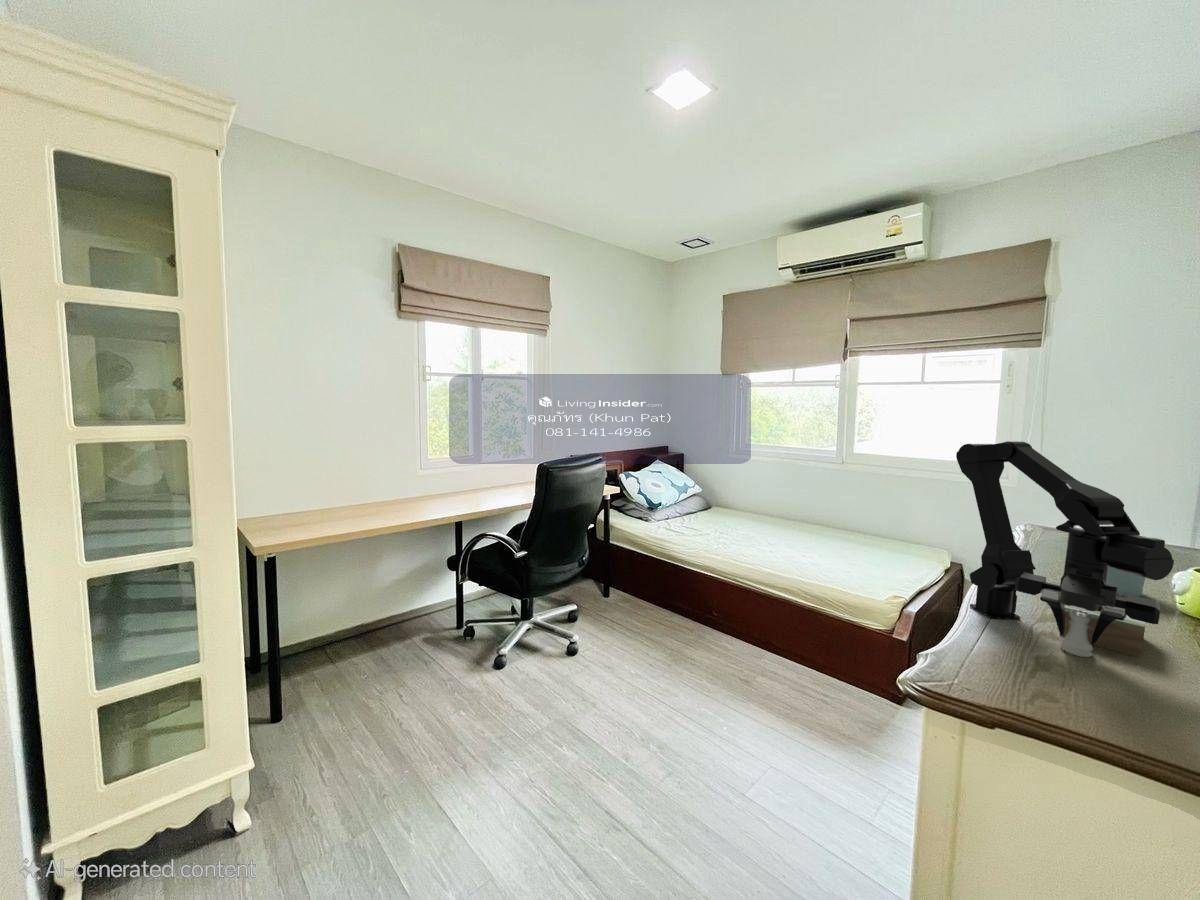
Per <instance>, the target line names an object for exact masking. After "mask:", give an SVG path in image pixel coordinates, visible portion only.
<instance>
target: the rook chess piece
mask: <svg viewBox="0 0 1200 900" xmlns="http://www.w3.org/2000/svg"><path fill="white" fill-rule="evenodd" d="M1068 615H1069V616H1070V618H1071V621H1069V623H1070V628H1069V631H1068V633H1067V635H1066V636H1064V638H1061V640H1060V642H1061V644H1059V646H1060V648H1061V649H1062V650H1063V651H1064V650H1065V651H1066V653H1067V652H1068V654H1069V655H1072V654H1073V655H1072V656H1075V655H1076V657H1079V656H1080V657H1081V658H1090V657H1092V656H1094V655H1093V654H1094V653H1093V652H1092V651H1094V650H1093V649H1094V648H1093V646H1092V644H1091V643H1090V642H1089V640H1088V628H1090V626H1089V625H1088V624H1089V622H1091V621H1092V618H1091V617H1090V614H1089V613H1088V612H1085V614H1084V613H1082V610H1079V612H1077V610H1076V609H1073V610H1071V612H1070V613H1069V614H1068ZM1065 651H1064V652H1065Z"/></svg>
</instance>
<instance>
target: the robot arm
mask: <svg viewBox="0 0 1200 900" xmlns="http://www.w3.org/2000/svg"><path fill="white" fill-rule="evenodd" d="M956 461H957V464H958V465H959V466H958V467H959V469H960V471H961V473H962V474H963V475H964V476H965V477H967V479H968V480H969V481H970V482H971V483H972V488H973V493H974V496H975V501H976V504H977V505H976V506H977V509H978V513H979V517H980V522H981V526H982V530H983V531H982V532H983V534H984V538H985V546H984V549H983V551H982V554H981V555H980V557H981V566H980V567H979V568H977V569H975V570H973V571H972V572H970V573H969V580H970V582H971V584H972V585H975V586H977V588H976V595H975V596H976V597H975V603H970V604H969V607H970V608H972V609H974V610H976V611H977V612H980V613H981V614H983V615H985V616H986V617H988V618H991V619H1002V620H1003V619H1004V620H1005V619H1007V620H1008V619H1010V620H1011V619H1012V620H1020V619H1021V616H1020V615H1019V614H1016V610H1017V603H1018V602H1017V600H1018V595H1017V592H1019V593H1023V594H1028V595H1031V596H1037V595H1039V594H1041V595H1040V597H1039V600H1040V602H1044V603H1046V604H1047V605H1048V606H1049V608H1050V610H1051V611H1052V614H1053V616H1054V620H1055V622H1056V625H1057V628H1058V631H1059V636H1062V635H1064V630H1065V605H1068V606H1076V607H1080V608H1084V609H1086V610H1089V611H1097V610H1098V607H1099V605H1102V606H1103V607H1102V610H1101V613H1100V615H1099V618H1098V621H1097V624H1096V627H1095V630H1094V632H1093V636H1092V642H1091V643H1092V644H1091V643H1090V644H1091V645H1094V644H1095V643H1096V641H1097V640H1098V638H1099V637H1100V635H1101V634H1102V633H1103V631H1104V630H1105V628H1106V627H1107V626H1108V625H1109V624H1110V623H1111V622H1113V621H1114V620H1122V621H1123V620H1125V614H1126V615H1127V616H1128V617H1130V618H1131V619H1134V620H1138V621H1143V622H1146V623H1148V624H1151V625H1159V622H1160V615H1161V604H1159V602H1158V601H1156V600H1154V599H1149V598H1145V597H1141V596H1138V597H1136V596H1131V595H1127V596H1126V599H1123V598H1118V597H1117V595H1118V594H1117V587H1113V586H1108V585H1107V580H1108V572H1109V566H1110V567H1112V568H1115V569H1118V570H1122V571H1125V572H1128V573H1132V574H1135V575H1139V576H1142V577H1145V579H1149V580H1153V581H1159V580H1163V579H1164V578H1166V577H1167V576H1168V575H1170V573H1171V572H1172V570H1173V568H1174V564H1175V559H1173V555H1172V553H1171V551H1170V550H1169V549H1168V548H1166V547H1165V544H1166V541H1165V540H1164V539H1161V538H1157V537H1147V536H1142V535H1141V533H1140V530H1138V528H1137V527H1136V525H1135V524H1134V523H1133V521H1132V520H1131V518H1130V516H1129V515H1128V513H1127V512H1126V511H1125V509H1124V508H1125V504H1124V502H1123V501H1122V500H1121V499H1120V498H1118V497H1117V496H1114V495H1113V494H1111V493H1109V492H1108V491H1105V490H1103V489H1101V488H1099V487H1096V486H1093V485H1089V484H1087V483H1084V482H1082V481H1079V480H1077V479H1076V478H1074V477H1073V476H1072V475H1070V474H1069V473H1067V472H1066V471H1065V470H1064V469H1062V468H1061V467H1059V466H1058V465H1057V464H1055V463H1054V462H1053V461H1051V460H1049V459H1048V458H1047V457H1045V456H1044V455H1042V454H1041V453H1039V452H1038V451H1037V450H1036V449H1034V448H1033V446H1032V445H1031V444H1030V443H1028V442H1025V441H1018V440H1017V441H1011V440H1010V441H1009V440H1007V441H1004V442H1003V441H1002V442H999V443H964V444H963V445H961V446H960V447H959V449H958V451H956ZM1005 463H1009V464H1011V465H1012V466H1013V467H1015V468H1016V469H1018V471H1020V472H1021V473H1022V474H1024V475H1025V476H1027V477H1028V478H1029V479H1031V481H1033V482H1034V483H1035V484H1036V485H1037V486H1039V487H1041V488H1042V489H1043V490H1044V491H1045V492H1047V493H1048V494H1049V495H1050V496H1051V497H1052V498H1053V501H1054V505H1055V507H1056V508H1057V509H1058V510H1059V511H1060V512H1061V513H1062V514H1063V516H1064V517H1065V518H1066V519H1067V521H1066V522H1064V523H1061V524H1059V525H1057V526H1055V530H1057V531H1061V532H1065V533H1068V534H1067V537H1068V538H1067V543H1066V553H1065V560H1064V568H1063V575H1062V576H1061V578H1060V584H1056V583H1051V582H1047V576H1041V575H1038V574H1034V573H1035V572H1034V570H1037V568H1036V566H1035V565H1034V563H1033V559H1032V558H1033V557H1032V553H1031V551H1030V549H1029V550H1028V549H1027V550H1026V549H1022V548H1021V547H1020V546H1019V545H1018V544H1017V543H1016V541H1015V538H1014V537H1015V536H1014V532H1013V529H1012V525H1011V522H1010V521H1011V520H1010V518H1009V517H1010V516H1009V514H1008V509H1007V505H1006V501H1005V498H1004V494H1003V490H1002V486H1001V481H1000V478H1001V477H1002V474H1003V472H1004V469H1005Z"/></svg>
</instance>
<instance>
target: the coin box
mask: <svg viewBox="0 0 1200 900" xmlns="http://www.w3.org/2000/svg"><path fill="white" fill-rule="evenodd" d="M1102 607H1103V606H1102V605H1099V607H1098V610H1097V611H1089V610H1086V609H1084V608H1080V607H1076V606H1068V605H1065V630H1064V635H1063V637H1065V636H1066V635H1067V633H1068V631H1069V628H1070V623H1069V621H1071V618H1070V616H1069V615H1068V614H1069V613H1070V612H1071V610H1073V609H1076V610H1077V612H1079V610H1082V613H1084V614H1085V612H1088V613H1089V614H1090V617H1091V618H1092V621H1091V622H1089V624H1088V625H1089V626H1090V628H1088V640H1089V642H1090V645H1095V646H1098V647H1102V648H1107V649H1108V650H1113V651H1116V652H1119V653H1124V654H1127V655H1130V656H1133V657H1138V658H1142V651H1143V646H1144V637H1145V632H1146V623H1147V622H1143V621H1138V620H1134V619H1131V618H1130V617H1128V616H1127V615H1126V614H1125V620H1123V621H1122V620H1114V621H1113V622H1111V623H1110V624H1109V625H1108V626H1107V627H1106V628H1105V630H1104V631H1103V633H1102V634H1101V635H1100V637H1099V638H1098V640H1097V641H1096V643H1095V644H1092V643H1091V642H1092V636H1093V632H1094V630H1095V627H1096V624H1097V621H1098V618H1099V615H1100V613H1101V610H1102Z"/></svg>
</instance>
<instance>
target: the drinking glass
mask: <svg viewBox="0 0 1200 900" xmlns="http://www.w3.org/2000/svg"><path fill="white" fill-rule="evenodd" d="M1145 581H1146V578H1145V577H1142V576H1139V575H1135V574H1132V573H1128V572H1125V571H1122V570H1118V569H1115V568H1112V567H1110V566H1109V572H1108V580H1107V585H1108V586H1113V587H1117V594H1116V595H1118V594H1119V595H1120V596H1125V597H1127V595H1131V596H1136V597H1141V596H1142V595H1143V590H1144V584H1145Z"/></svg>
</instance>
